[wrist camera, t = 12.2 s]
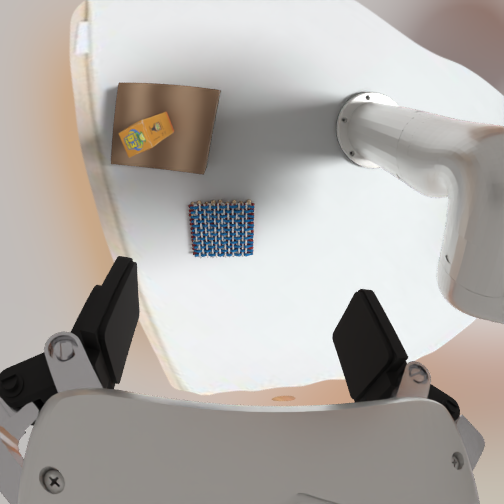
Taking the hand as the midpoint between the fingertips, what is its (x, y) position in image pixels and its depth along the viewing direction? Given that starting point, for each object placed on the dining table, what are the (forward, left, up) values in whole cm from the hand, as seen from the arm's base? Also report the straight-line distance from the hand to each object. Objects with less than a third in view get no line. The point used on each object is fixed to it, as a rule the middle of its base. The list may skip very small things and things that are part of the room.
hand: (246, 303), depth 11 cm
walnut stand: (+11, -2, -33) cm, 35 cm away
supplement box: (+11, -2, -30) cm, 32 cm away
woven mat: (0, +14, -34) cm, 37 cm away
